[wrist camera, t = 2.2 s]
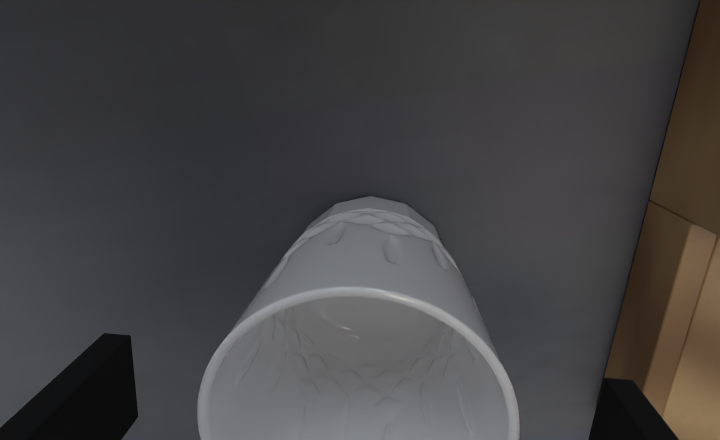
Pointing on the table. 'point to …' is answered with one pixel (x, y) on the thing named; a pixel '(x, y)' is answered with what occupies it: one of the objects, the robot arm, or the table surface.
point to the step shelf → (681, 257)
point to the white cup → (360, 342)
